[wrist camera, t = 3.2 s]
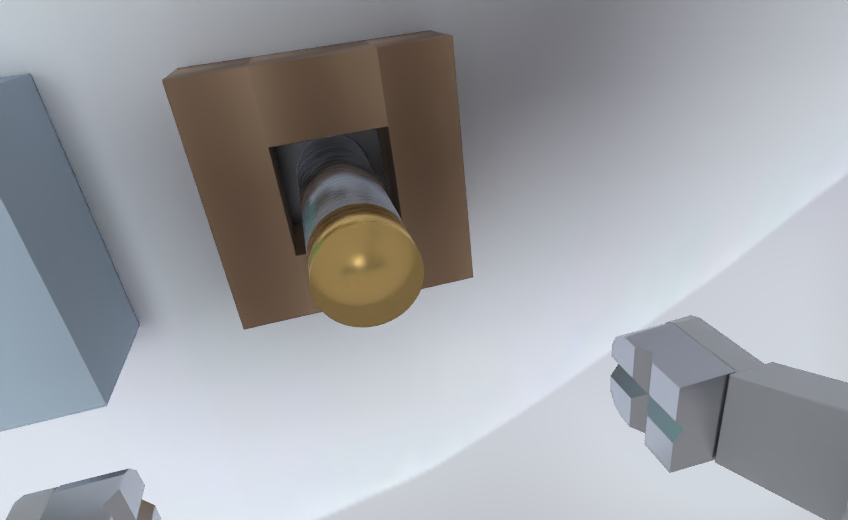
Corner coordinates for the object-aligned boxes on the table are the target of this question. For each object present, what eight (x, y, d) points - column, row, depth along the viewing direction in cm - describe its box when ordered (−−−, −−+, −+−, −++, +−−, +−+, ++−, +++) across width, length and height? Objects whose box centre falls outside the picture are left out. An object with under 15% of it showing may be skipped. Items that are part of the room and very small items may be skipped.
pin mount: (429, 30, 20) (452, 36, 18) (451, 246, 24) (473, 277, 22) (177, 68, 19) (162, 80, 16) (247, 291, 23) (243, 329, 20)
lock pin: (361, 127, 21) (416, 213, 13) (372, 195, 22) (430, 313, 14) (288, 140, 21) (298, 238, 12) (304, 208, 22) (322, 338, 14)
